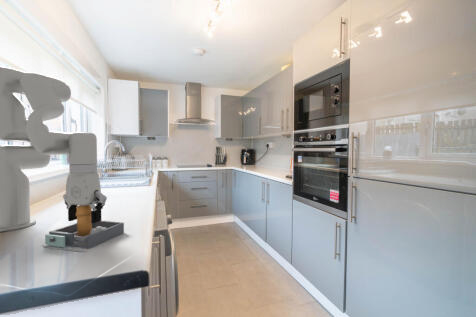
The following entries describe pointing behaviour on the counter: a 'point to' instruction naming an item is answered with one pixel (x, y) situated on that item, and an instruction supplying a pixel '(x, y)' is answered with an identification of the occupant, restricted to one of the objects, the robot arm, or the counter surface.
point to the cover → (55, 240)
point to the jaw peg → (83, 220)
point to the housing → (97, 235)
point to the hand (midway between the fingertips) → (84, 220)
